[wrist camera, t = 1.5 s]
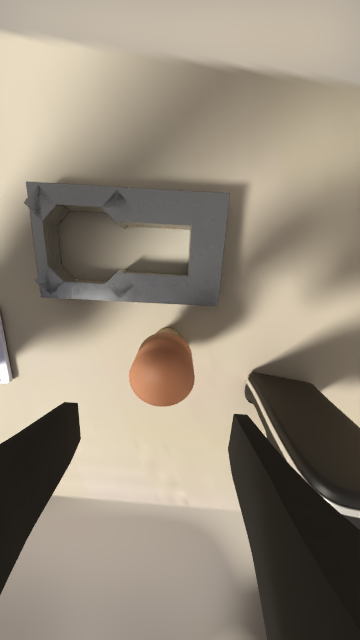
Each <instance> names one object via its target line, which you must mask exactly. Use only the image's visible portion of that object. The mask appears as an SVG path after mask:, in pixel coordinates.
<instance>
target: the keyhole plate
mask: <svg viewBox="0 0 360 640" xmlns="http://www.w3.org/2000/svg"><path fill="white" fill-rule="evenodd" d="M26 186H27V194H28V198H27V199H26V201H25V202H24V203H25V204H26V205H27V206H28V207H29V209H30V216H31V224H32V231H33V239H34V247H35V254H36V262H37V269H38V277H37V278H36V279H35V281H36V282H37V283H38V284H39V285H40V292H41V297H45V298H65V299H85V300H105V301H125V302H144V303H164V304H184V305H204V306H218V301H219V292H220V282H221V272H222V263H223V253H224V243H225V234H226V224H227V214H228V205H229V195H230V193H215V192H198V191H180V190H163V189H146V188H128V187H111V186H93V185H76V184H59V183H41V182H26ZM70 211H87V212H105V213H107V214H108V215H109V216H110V217H111V218H112V219H113V220H114V221H115V223H116V224H117V225H119V226H120V227H122V228H124V229H125V228H126V227H127V226H137V227H155V228H173V229H190V242H189V259H188V275H184V274H165V273H146V272H128V271H127V270H126V269H121V270H118V271H117V272H116V273H115V274H114V275H113V276H112V277H111V278H110V279H109V280H108V281H96V280H76V279H75V278H74V277H73V276H72V275H71V274H70V273H69V272H68V271H67V270H66V269H65V268H64V267H63V266H62V262H61V252H60V242H59V232H58V224H59V223H60V222H61V221H62V220H63V219H64V218H65V216H66V215H67V214H68V213H69V212H70Z"/></svg>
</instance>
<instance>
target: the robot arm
mask: <svg viewBox="0 0 360 640" xmlns="http://www.w3.org/2000/svg"><path fill="white" fill-rule="evenodd" d="M0 377H1V378H0V383H3V384H7V383H9V382H10V381H12V373H11V368H10V363H9V358H8V352H7V347H6V342H5V337H4V331H3V326H2V321H1V316H0ZM80 439H81V437H80V425H79V413H78V403H68V402H64V403H63V404H61V405H59V406H58V407H56V408H55V409H53V410H52V411H50V412H49V413H47V414H46V415H44V416H43V417H41V418H40V419H38V420H37V421H35V422H34V423H32V424H31V425H29V426H28V427H26V428H25V429H23V430H22V431H20V432H19V433H17V434H16V435H14V436H13V437H11V438H9V439H8V440H6V441H5V442H3V443H1V444H0V594H1V592H2V590H3V588H4V586H5V583H6V581H7V579H8V577H9V575H10V573H11V571H12V569H13V567H14V565H15V563H16V560H17V559H18V557H19V554H20V552H21V550H22V548H23V546H24V544H25V542H26V540H27V538H28V536H29V534H30V533H31V531H32V529H33V527H34V525H35V523H36V522H37V520H38V518H39V516H40V515H41V513H42V511H43V510H44V508H45V506H46V504H47V503H48V501H49V499H50V497H51V496H52V494H53V492H54V491H55V489H56V487H57V485H58V484H59V482H60V480H61V478H62V477H63V475H64V473H65V471H66V470H67V468H68V466H69V464H70V462H71V460H72V458H73V456H74V453H75V451H76V449H77V446H78V444H79V442H80ZM228 452H229V459H230V465H231V472H232V477H233V481H234V485H235V489H236V492H237V496H238V500H239V504H240V508H241V512H242V515H243V519H244V523H245V527H246V531H247V534H248V539H249V543H250V547H251V552H252V556H253V561H254V567H255V572H256V577H257V583H258V588H259V594H260V600H261V605H262V611H263V617H264V623H265V628H266V634H267V640H360V530H359V529H358V528H357V527H356V526H355V525H353V524H352V523H351V522H350V521H349V520H347V519H346V518H345V517H344V516H343V515H342V514H341V513H339V512H338V511H337V510H336V509H335V508H334V507H333V506H332V505H331V504H330V503H328V502H327V501H326V500H325V499H324V498H323V497H322V496H321V495H320V494H319V493H318V492H317V491H316V490H314V489H313V488H312V487H311V486H310V485H309V484H308V483H307V482H306V481H305V480H304V479H303V478H302V477H301V476H300V475H299V474H298V472H297V471H296V470H295V469H294V468H293V467H292V466H291V465H290V464H289V463H288V462H287V461H286V460H285V459H284V458H283V457H282V455H281V454H280V453H279V452H278V451H277V450H276V449H275V447H274V446H273V445H272V444H271V443H270V442H269V440H268V439H267V438H266V437H265V436H264V435H263V433H262V432H261V431H260V430H259V429H258V427H257V426H256V425H255V424H254V422H253V421H252V420H251V419H250V418H249V416H248V415H242V414H234V416H233V422H232V428H231V435H230V441H229V447H228Z"/></svg>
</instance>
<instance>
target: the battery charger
mask: <svg viewBox="0 0 360 640" xmlns="http://www.w3.org/2000/svg"><path fill="white" fill-rule="evenodd" d="M245 397H246V399H247V400H248V402H250V403H252V404H254V406H255V408H256V410H257V412H258V415H259V417H260V419H261V422H262V424H263V426H264V428H265V431H266V435H267V439H268V440H269V442H270V443H271V444H272V445H273V446H274V447H275V449H276V450H277V451H278V452H279V453H280V454H281V455H282V457H283V458H284V459H285V460H286V461H287V462H288V463H289V464H290V465H291V466H292V467H293V468H294V469H295V470H296V471H297V472H298V474H299V475H300V476H301V477H302V478H303V479H304V480H305V481H306V482H307V483H308V484H309V485H310V486H311V487H312V488H313V489H314V490H316V491H317V492H318V493H319V494H320V495H321V496H322V497H323V498H324V499H325V500H326V501H327V502H328V503H330V504H331V505H332V506H333V507H334V508H335V509H336V510H337V511H338V512H339V513H341V514H342V515H343V516H344V517H345V518H346V519H347V520H349V521H350V522H351V523H352V524H353V525H355V526H356V527H357V528H358V529H359V530H360V428H359V427H358V426H357V425H356V424H355V423H354V422H353V421H352V420H351V419H349V418H348V417H347V416H346V415H345V414H344V413H343V412H342V411H340V410H339V409H338V408H337V407H336V406H335V405H334V404H333V403H332V402H330V401H329V400H328V399H327V398H326V397H325V396H324V395H323V394H322V393H321V392H320V391H319V390H318V389H317V388H316V387H315V386H314V385H313V384H311V383H306V382H301V381H296V380H291V379H285V378H280V377H274V376H268V375H263V374H256V373H251V374H250V375H249V377H248V378H247V380H246V386H245Z"/></svg>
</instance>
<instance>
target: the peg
mask: <svg viewBox="0 0 360 640" xmlns="http://www.w3.org/2000/svg"><path fill="white" fill-rule="evenodd" d="M129 381H130V385H131V388H132V390H133V391H134V393H135V394H136V395H137V396H138V397H139V398H140V399H141V400H143V401H144V402H146V403H148V404H151V405H155V406H171V405H174V404H177V403H179V402H181V401H182V400H184V399H185V398H186V397H187V396H188V395H189V393H190V392H191V390H192V388H193V385H194V369H193V361H192V353H191V350H190V347H189V346H188V344H187V343H186V341H185V340H183V339H182V338H181V336H180V335H179V333H178V332H177V331H176V330H174V329H171V328H163V329H161V330H159V331H158V332H157V333H156V334H154V335H152V336H150V337H148V338H147V339H146V340H145V341H144V342H143V343H142V345H141V346H140V349H139V351H138V353H137V355H136V357H135V360H134V362H133V364H132V366H131V369H130V373H129Z"/></svg>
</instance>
